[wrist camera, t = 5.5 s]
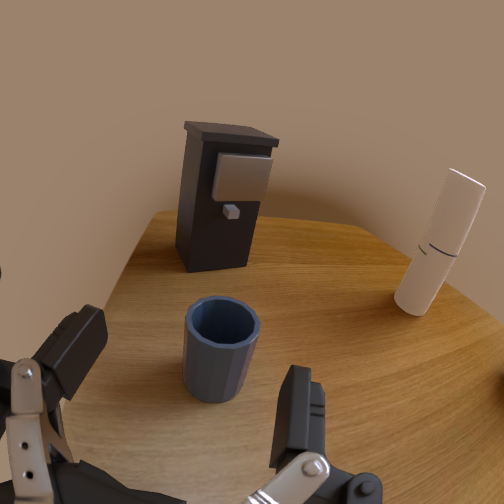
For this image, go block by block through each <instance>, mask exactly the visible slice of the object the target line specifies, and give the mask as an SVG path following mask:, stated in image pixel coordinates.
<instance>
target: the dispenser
mask: <svg viewBox="0 0 504 504" xmlns="http://www.w3.org/2000/svg"><path fill="white" fill-rule="evenodd" d="M184 129H185V130H187V131H188V132H187V139H186V146H185V155H184V162H183V170H182V178H181V188H180V197H179V208H178V218H177V230H176V244H175V246H176V248H177V250H178V253H179V255H180V257H181V259H182V261H183V264H184V266H185V268H186V270H187V272H188V273H191V272H200V271H209V270H218V269H227V268H236V267H245V266H246V265H247V261H248V256H249V252H250V247H251V243H252V238H253V233H254V229H255V224H256V220H257V215H258V211H259V206H260V202H261V201H215V200H214V199H213V198H212V197H211V196H212V189H213V183H214V176H215V170H216V164H217V158H218V152H228V153H243V154H255V155H267V156H269V157H271V152H272V147H278V144H279V139H277V138H275V137H273V136H270V135H268V134H266V133H264V132H261V131H259V130H257V129H254V128H252V127H246V126H237V125H227V124H217V123H206V122H192V121H185V124H184Z"/></svg>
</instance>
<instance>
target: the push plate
mask: <svg viewBox="0 0 504 504" xmlns="http://www.w3.org/2000/svg"><path fill="white" fill-rule="evenodd" d="M272 163H273V158H271V157H269V156H267V155H255V154H243V153H228V152H218V158H217V164H216V170H215V176H214V183H213V189H212V196H211V197H212V198H213V199H214V200H215V201H264V198H265V194H266V190H267V185H268V181H269V177H270V172H271V168H272Z"/></svg>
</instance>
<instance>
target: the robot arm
mask: <svg viewBox="0 0 504 504" xmlns="http://www.w3.org/2000/svg"><path fill="white" fill-rule="evenodd" d="M107 339H108V333H107V327H106V322H105V317H104V312H103V310H101V309H99V308H96V307H94V306H91V305H88V304H87V305H85V306H84V307H83V308H82V309H81V310H80V311H79V313H76V312H73V313H71V314H70V315H68V316H66V317H65V318H64V319H63V320H62V321H61V323H60V324H59V325H58V327H56V328H55V330H54V331H53V333H52V334H51V335H50V336H49V337H48V338H47V339H46V341H45V342H44V343H43V344H42V346H41V347H40V348H39V350H38V351H37V352H36V353H35V355H34V356H33V357H32V358H31V359H29V358H24V359H21V360H19V361H18V362H16V363H14V362H10V361H6V360H2V359H0V439H1V437H2V435H3V434H4V432H5V430H6V433H7V444H8V453H9V461H10V468H11V474H12V480H9V481H6V482H3V483H0V504H186V501H184V500H180V499H177V498H173V497H170V496H167V495H164V494H161V493H157V492H149V491H141V490H135V489H129V488H127V487H125V486H124V485H122V484H121V483H120V482H118V481H117V480H115V479H114V478H113V477H111V476H110V475H109V474H107V473H106V472H105V471H103V470H101V469H99V468H97V467H95V466H93V465H91V464H89V463H87V462H85V461H83V460H80V462H79V463H74V461H73V457H72V454H71V451H70V449H69V447H68V445H67V442H66V438H65V433H64V427H63V421H62V415H61V408H60V403H59V401H60V399H61V398H62V397H64V398H65V399H67V400H69V401H71V399H72V397H73V396H74V394H75V393H76V391H77V389H78V388H79V386H80V384H81V383H82V381H83V380H84V378H85V376H86V375H87V373H88V372H89V370H90V369H91V367H92V365H93V364H94V362H95V361H96V359H97V358H98V356H99V355H100V353H101V352H102V350H103V349H104V347H105V345H106V343H107ZM269 468H275V469H276V475H275V476H274V477H273V478H272V479H270V480H269V481H268V482H267V483H266V484H264V485H263V486H262V487H261V488H259V489H258V490H257V491H256V492H254V493H253V494H251V495H250V496H249V497H247V498H246V499H245V500H243V501H242V502H241V503H239V504H382V492H383V488H382V483H381V481H380V479H379V478H378V477H377V476H375V475H374V474H371V473H360V474H357V475H353V474H350V473H347V472H345V471H342V470H339V469H337V468H335V467H334V466H332V465H331V464H330V462H329V461H328V460H327V458H326V455H325V393H324V391H323V389H322V386H321V384H320V383H316V382H311V369H310V368H308V367H302V366H297V365H291V367H290V369H289V371H288V373H287V375H286V377H285V379H284V381H283V383H282V386H281V389H280V392H279V397H278V404H277V412H276V420H275V428H274V436H273V443H272V450H271V457H270V464H269Z"/></svg>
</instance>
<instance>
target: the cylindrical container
mask: <svg viewBox="0 0 504 504" xmlns="http://www.w3.org/2000/svg"><path fill="white" fill-rule="evenodd" d="M485 191H486V187H485V186H483V185H482V184H480V183H479V182H477V181H475V180H473V179H471V178H469V177H468V176H466V175H464V174H462V173H460V172H458V171H456V170H454V169H451V168H449V170H448V173H447V176H446V179H445V182H444V185H443V188H442V190H441V193H440V196H439V198H438V201H437V203H436V206H435V208H434V211H433V214H432V216H431V218H430V221H429V223H428V225H427V228H426V230H425V232H424V235H423V237H422V239H421V242H420V244H419V246H418V248H417V250H416V252H415V254H414V257H413V259H412V261H411V263H410V265H409V267H408V269H407V271H406V273H405V275H404V277H403V279H402V281H401V283H400V285H399V287H398V289H397V290H396V292H395V294H394V300H395V302H396V304H397V305H398V306H399V307H400V308H401V309H402V310H404V311H405V312H407V313H409V314H411V315H414V316H422V315H424V314H425V313H426V311H427V309H428V308H429V306H430V304H431V303H432V301H433V299H434V298H435V296H436V294H437V293H438V291H439V289H440V287H441V286H442V284H443V282H444V280H445V278H446V276H447V275H448V273H449V270H450V269H451V267H452V265H453V263H454V261H455V259H456V257H457V255H458V253H459V251H460V249H461V247H462V245H463V243H464V241H465V239H466V236H467V234H468V232H469V230H470V227H471V225H472V223H473V221H474V218H475V216H476V214H477V211H478V209H479V206H480V204H481V201H482V198H483V196H484V193H485Z"/></svg>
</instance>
